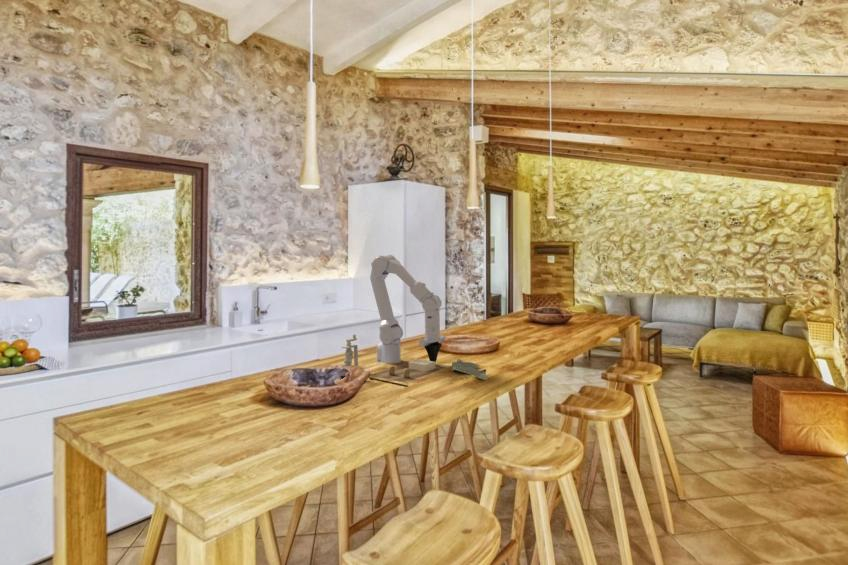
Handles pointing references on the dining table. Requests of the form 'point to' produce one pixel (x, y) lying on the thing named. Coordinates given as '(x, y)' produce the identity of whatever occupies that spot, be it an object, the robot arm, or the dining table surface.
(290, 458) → the dining table surface
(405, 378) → the bench board
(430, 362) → the cream rectangular block
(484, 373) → the metal bracket
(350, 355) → the clamp
